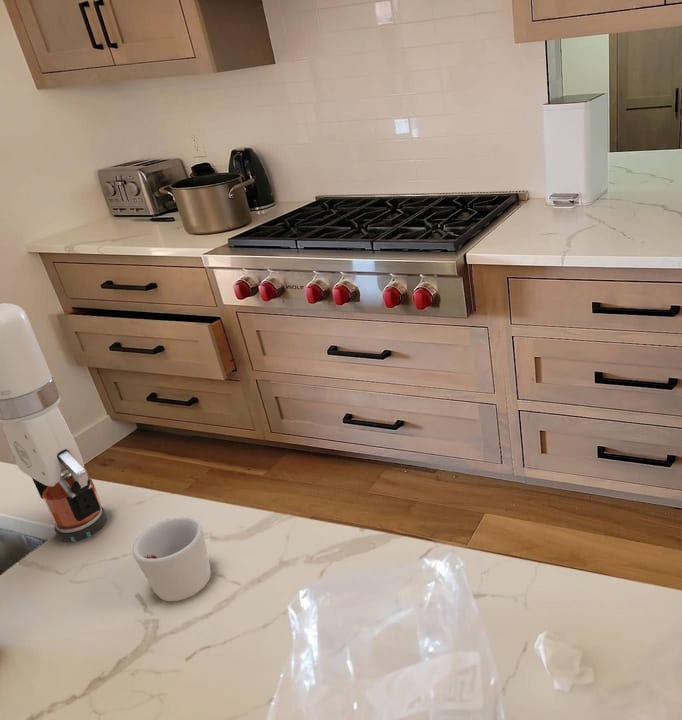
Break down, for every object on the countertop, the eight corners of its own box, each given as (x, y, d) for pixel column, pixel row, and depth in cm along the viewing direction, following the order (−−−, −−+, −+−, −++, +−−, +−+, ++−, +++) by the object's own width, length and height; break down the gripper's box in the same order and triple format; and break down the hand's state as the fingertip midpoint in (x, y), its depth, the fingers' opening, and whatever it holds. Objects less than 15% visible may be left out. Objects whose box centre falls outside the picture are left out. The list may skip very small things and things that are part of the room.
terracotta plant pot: (54, 534, 93) (40, 505, 91) (57, 510, 98) (44, 482, 96) (101, 519, 95) (89, 490, 93) (103, 496, 100) (91, 468, 98)
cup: (152, 563, 90) (133, 516, 87) (214, 543, 93) (198, 496, 89) (151, 620, 81) (130, 570, 78) (220, 596, 84) (203, 546, 80)
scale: (58, 552, 94) (50, 536, 93) (61, 526, 99) (54, 511, 98) (108, 536, 96) (101, 520, 95) (109, 511, 102) (103, 496, 100)
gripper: (-35, 397, 90) (14, 500, 97) (25, 428, 81) (75, 540, 88) (24, 373, 95) (67, 473, 103) (87, 400, 86) (129, 507, 94)
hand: (70, 504), depth 95 cm, fingers open, 9 cm apart
